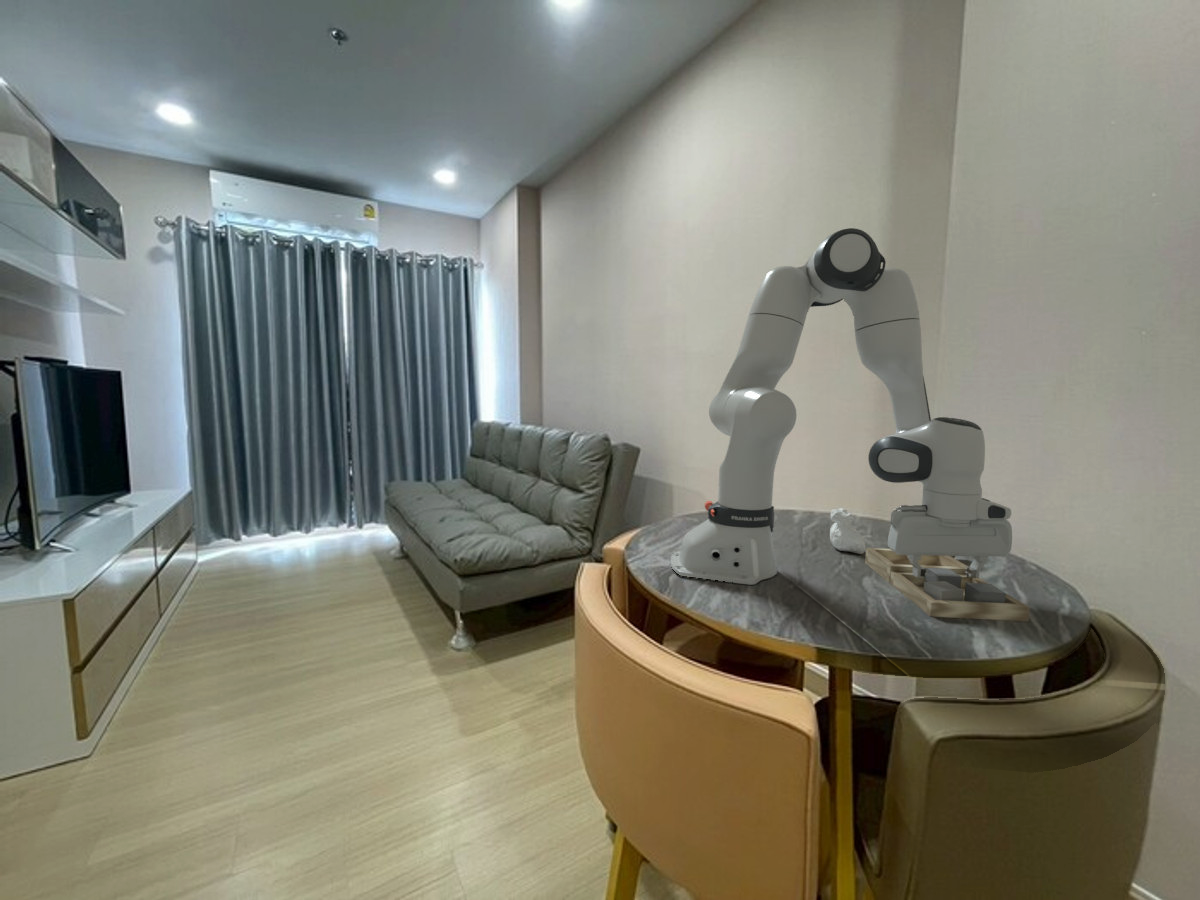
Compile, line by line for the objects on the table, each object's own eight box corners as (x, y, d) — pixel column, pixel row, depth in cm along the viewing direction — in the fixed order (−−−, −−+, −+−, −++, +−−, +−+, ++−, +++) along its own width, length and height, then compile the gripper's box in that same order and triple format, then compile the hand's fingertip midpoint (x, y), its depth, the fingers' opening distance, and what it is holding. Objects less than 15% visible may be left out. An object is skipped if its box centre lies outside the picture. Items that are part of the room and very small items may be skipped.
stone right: (977, 614, 83) (979, 591, 82) (963, 603, 87) (965, 582, 86) (1003, 615, 82) (1006, 593, 82) (988, 605, 86) (990, 583, 86)
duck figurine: (831, 550, 124) (806, 516, 123) (855, 532, 124) (830, 498, 123) (856, 567, 113) (829, 529, 111) (883, 547, 112) (856, 510, 111)
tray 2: (929, 619, 82) (931, 602, 82) (889, 586, 96) (890, 571, 96) (1028, 624, 80) (1030, 607, 80) (972, 589, 94) (974, 575, 94)
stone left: (939, 613, 83) (941, 591, 83) (922, 603, 87) (924, 581, 86) (961, 612, 83) (963, 590, 83) (943, 602, 87) (945, 581, 87)
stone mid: (936, 596, 90) (938, 575, 89) (924, 587, 94) (926, 567, 93) (959, 597, 89) (961, 576, 89) (946, 588, 93) (948, 568, 93)
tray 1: (889, 585, 96) (890, 566, 96) (864, 565, 107) (866, 547, 107) (971, 589, 95) (973, 569, 94) (938, 568, 106) (940, 550, 105)
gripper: (900, 509, 88) (896, 582, 90) (1021, 510, 86) (1014, 584, 88) (883, 501, 94) (879, 569, 96) (996, 501, 92) (989, 571, 94)
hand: (945, 576), depth 92 cm, fingers open, 8 cm apart
